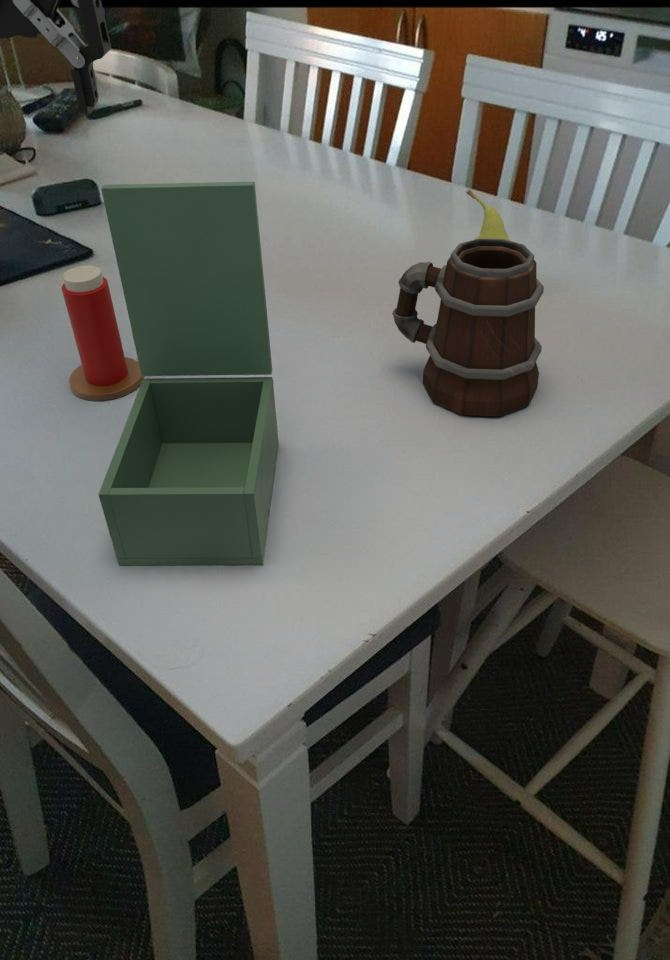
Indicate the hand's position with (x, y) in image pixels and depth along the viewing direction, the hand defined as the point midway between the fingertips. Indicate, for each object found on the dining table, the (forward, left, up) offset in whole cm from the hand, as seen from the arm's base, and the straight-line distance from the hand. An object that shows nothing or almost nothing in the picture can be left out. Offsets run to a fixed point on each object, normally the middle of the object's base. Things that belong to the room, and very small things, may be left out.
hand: (41, 113), depth 72 cm
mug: (+33, -21, -28) cm, 48 cm away
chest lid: (+6, -18, -11) cm, 22 cm away
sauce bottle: (0, 0, -27) cm, 27 cm away
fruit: (+49, -4, -28) cm, 57 cm away
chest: (+2, -25, -28) cm, 37 cm away
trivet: (0, 0, -28) cm, 28 cm away
